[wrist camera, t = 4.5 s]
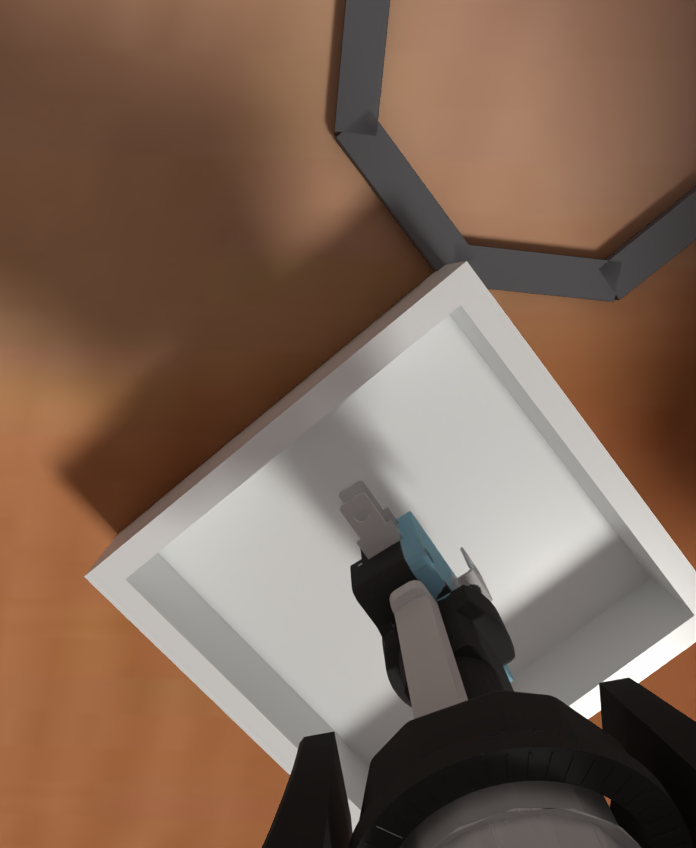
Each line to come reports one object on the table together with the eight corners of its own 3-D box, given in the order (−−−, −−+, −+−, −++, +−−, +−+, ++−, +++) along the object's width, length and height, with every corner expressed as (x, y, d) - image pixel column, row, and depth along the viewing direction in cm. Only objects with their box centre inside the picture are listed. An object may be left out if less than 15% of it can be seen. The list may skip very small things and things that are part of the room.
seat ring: (857, 105, 18) (869, 101, 18) (515, 377, 20) (519, 379, 19) (627, -324, 16) (635, -340, 15) (247, 22, 17) (245, 16, 17)
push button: (272, 527, 17) (204, 872, 8) (432, 425, 17) (579, 661, 7) (398, 689, 19) (473, 1144, 9) (548, 602, 18) (797, 993, 9)
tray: (672, 572, 22) (729, 617, 19) (374, 791, 23) (384, 865, 20) (442, 265, 19) (466, 260, 16) (117, 534, 20) (83, 576, 17)
